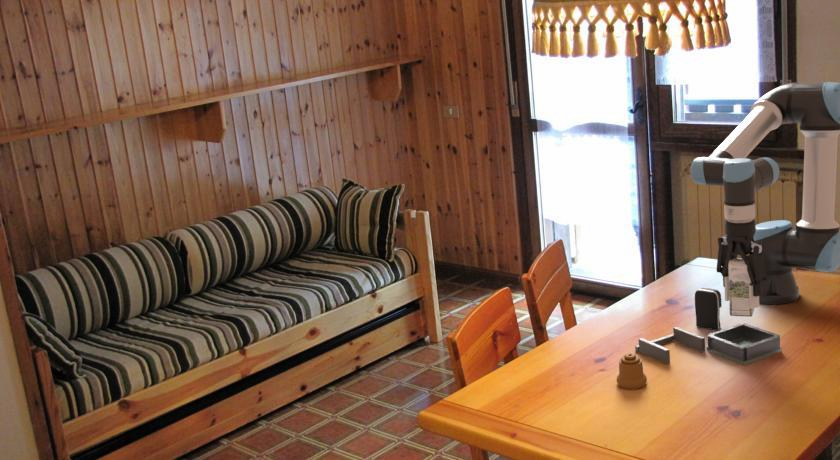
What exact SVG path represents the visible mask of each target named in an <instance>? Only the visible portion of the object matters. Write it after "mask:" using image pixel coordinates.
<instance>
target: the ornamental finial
mask: <svg viewBox="0 0 840 460" xmlns="http://www.w3.org/2000/svg"><path fill="white" fill-rule="evenodd" d="M643 366H644V365H643V360H642V358H640V357H639V356H638V355H636V354H635V353H626V354H624V355H623V356H622V357H621V358H619V360H618V370H619V371H618V373H619V374H618V375H617V376H616V383H617V385H618V386H619V387H620V388H622V389H625V390H632V389H633V390H639V389H641V388H644V387H645V386H646V384H647V382H648V381H647V380H648V378H647V375H646V374H645V373H644V367H643Z"/></svg>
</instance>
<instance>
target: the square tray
mask: <svg viewBox="0 0 840 460" xmlns="http://www.w3.org/2000/svg"><path fill="white" fill-rule="evenodd" d="M705 350H706V351H707V352H710V353H711V354H714V355H717V356H719V357H720V358H721V357H722V358H724V359H726V360H728V361H730V362H731V361H732V362H733V363H734V362H735V363H736V364H739V365H741V366H746V365H749V364H752V363H755V362H757V361H760V360H763V359H766V358H768V357H771V356H775V355H777V354H780V353H782V352H783V348H782V347H781V335H780V334H777V333H775V332H771V331H768V330H766V329H763V328H760V327H758V326H754V325H751V324H748V323H745V322H744V323H738V324H735V325H732V326H729V327H726V328H723V329H719V330H716V331H713V332H711V333H709V334H708V335H707V346H705Z"/></svg>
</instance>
